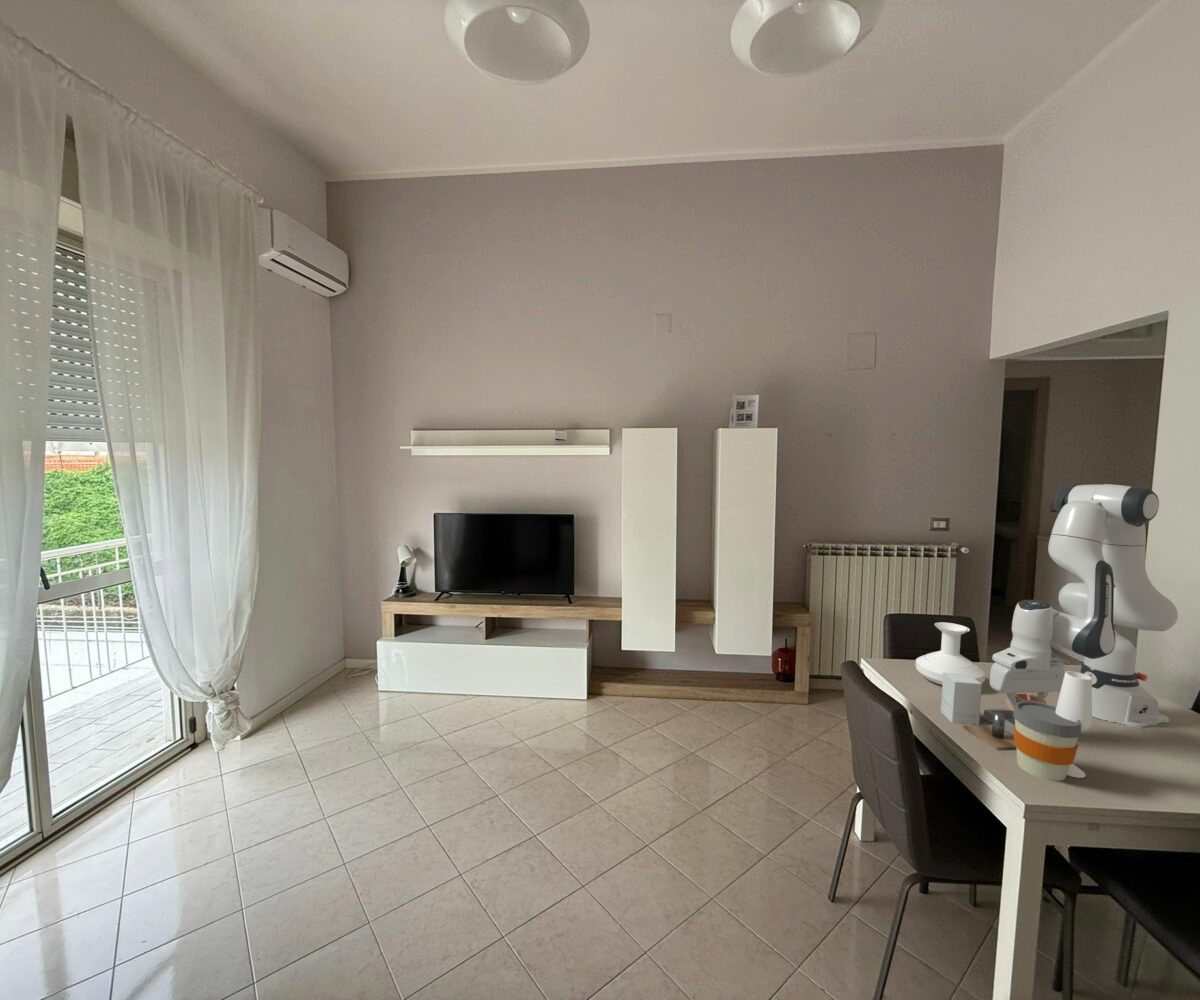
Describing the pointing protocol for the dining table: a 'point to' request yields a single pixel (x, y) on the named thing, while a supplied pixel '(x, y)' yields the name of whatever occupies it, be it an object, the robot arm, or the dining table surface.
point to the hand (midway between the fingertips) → (1025, 705)
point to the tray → (1008, 718)
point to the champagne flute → (1076, 706)
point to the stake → (998, 725)
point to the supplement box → (961, 698)
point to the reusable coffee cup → (1044, 740)
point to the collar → (1024, 699)
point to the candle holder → (948, 656)
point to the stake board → (986, 736)
